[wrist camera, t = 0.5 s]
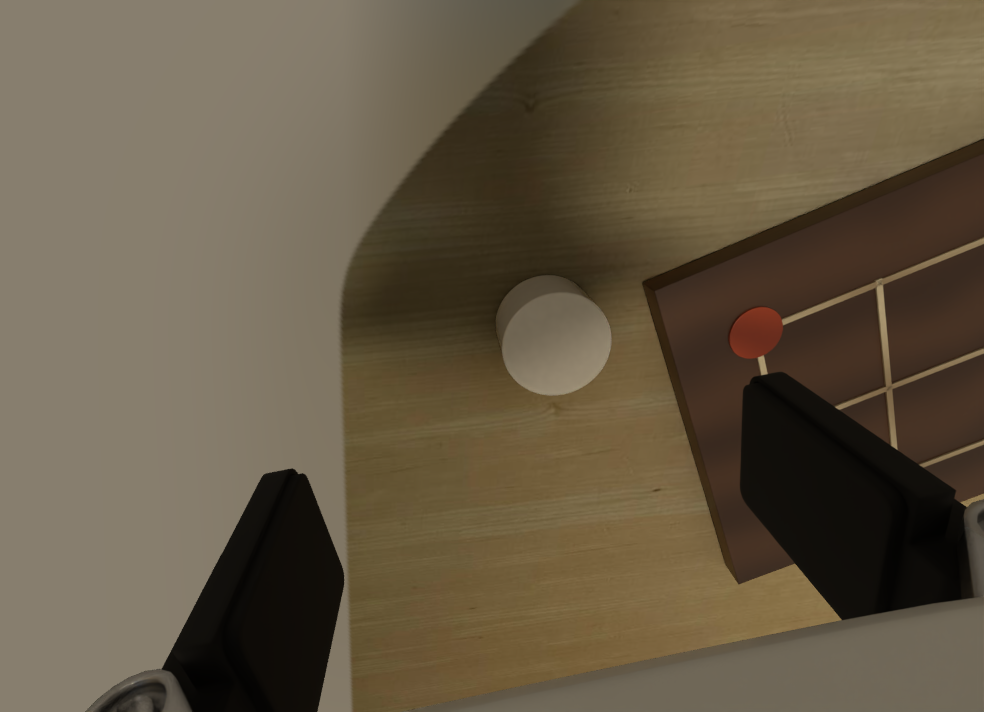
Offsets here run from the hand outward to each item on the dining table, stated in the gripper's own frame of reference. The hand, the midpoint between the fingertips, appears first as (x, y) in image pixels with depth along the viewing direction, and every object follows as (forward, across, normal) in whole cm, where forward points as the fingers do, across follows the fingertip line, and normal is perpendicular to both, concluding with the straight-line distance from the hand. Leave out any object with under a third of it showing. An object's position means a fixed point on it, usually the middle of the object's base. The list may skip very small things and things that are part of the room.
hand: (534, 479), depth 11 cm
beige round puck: (+14, -3, +2) cm, 15 cm away
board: (+14, -20, +9) cm, 26 cm away
